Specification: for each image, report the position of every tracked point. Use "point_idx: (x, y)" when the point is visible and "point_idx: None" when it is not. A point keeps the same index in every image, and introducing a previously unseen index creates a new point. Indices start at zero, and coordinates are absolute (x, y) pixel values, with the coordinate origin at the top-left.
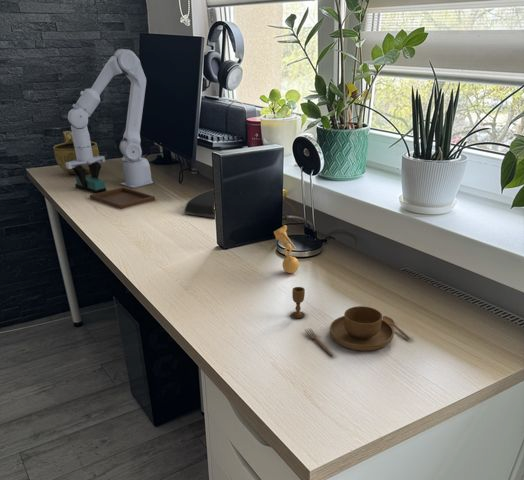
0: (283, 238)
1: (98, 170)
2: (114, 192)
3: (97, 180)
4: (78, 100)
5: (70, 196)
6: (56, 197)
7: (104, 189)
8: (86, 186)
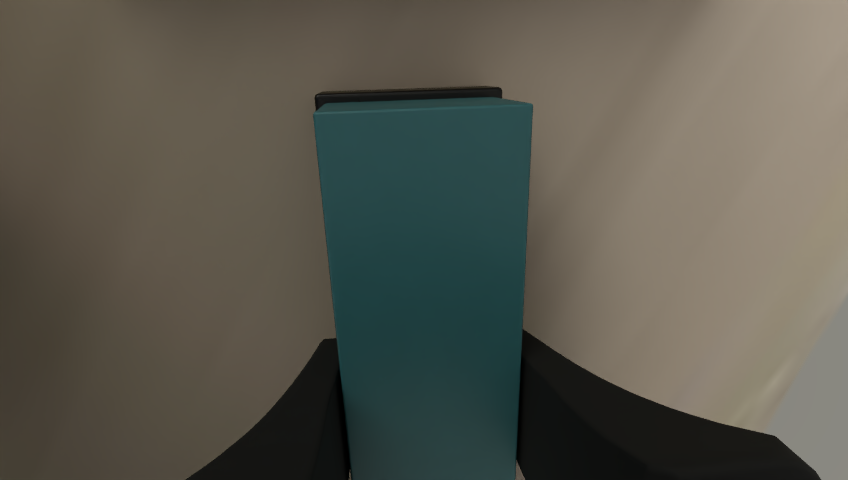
0: None
1: (240, 465)
2: None
3: (397, 227)
4: None
5: (718, 249)
6: (811, 316)
7: (348, 91)
8: None
